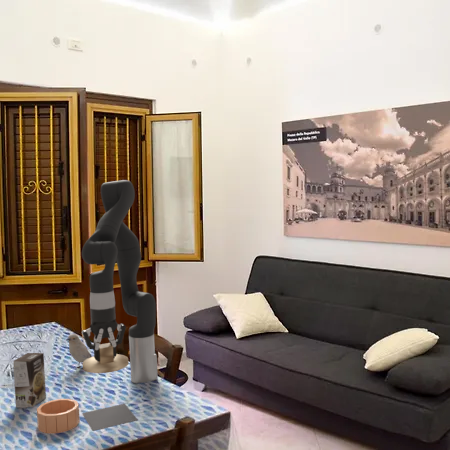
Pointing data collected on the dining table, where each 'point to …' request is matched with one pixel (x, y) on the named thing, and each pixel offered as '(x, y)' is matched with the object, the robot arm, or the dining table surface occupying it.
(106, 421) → the rubber mat
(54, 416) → the terracotta bowl
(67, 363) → the dining table surface
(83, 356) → the bird
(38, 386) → the coffee box
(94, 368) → the oak lid
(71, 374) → the dining table surface
